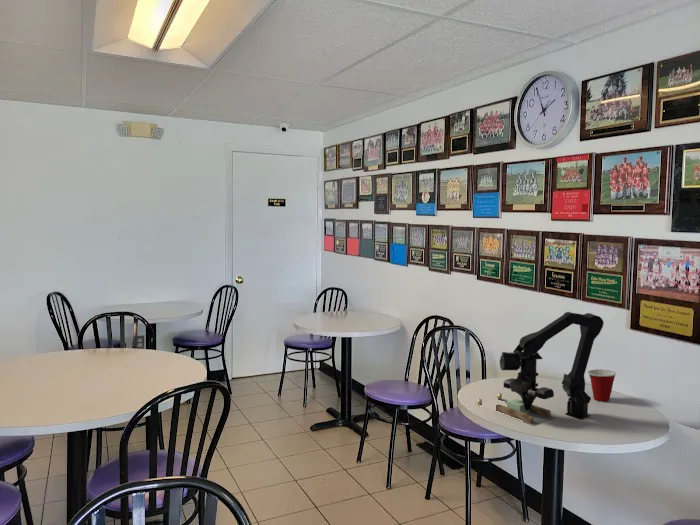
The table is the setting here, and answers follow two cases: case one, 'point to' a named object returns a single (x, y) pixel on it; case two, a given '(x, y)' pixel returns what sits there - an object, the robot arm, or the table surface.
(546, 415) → the walnut channel
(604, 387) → the plastic cup
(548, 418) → the charcoal runway
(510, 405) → the sage block
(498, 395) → the brass pegs
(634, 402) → the table surface
